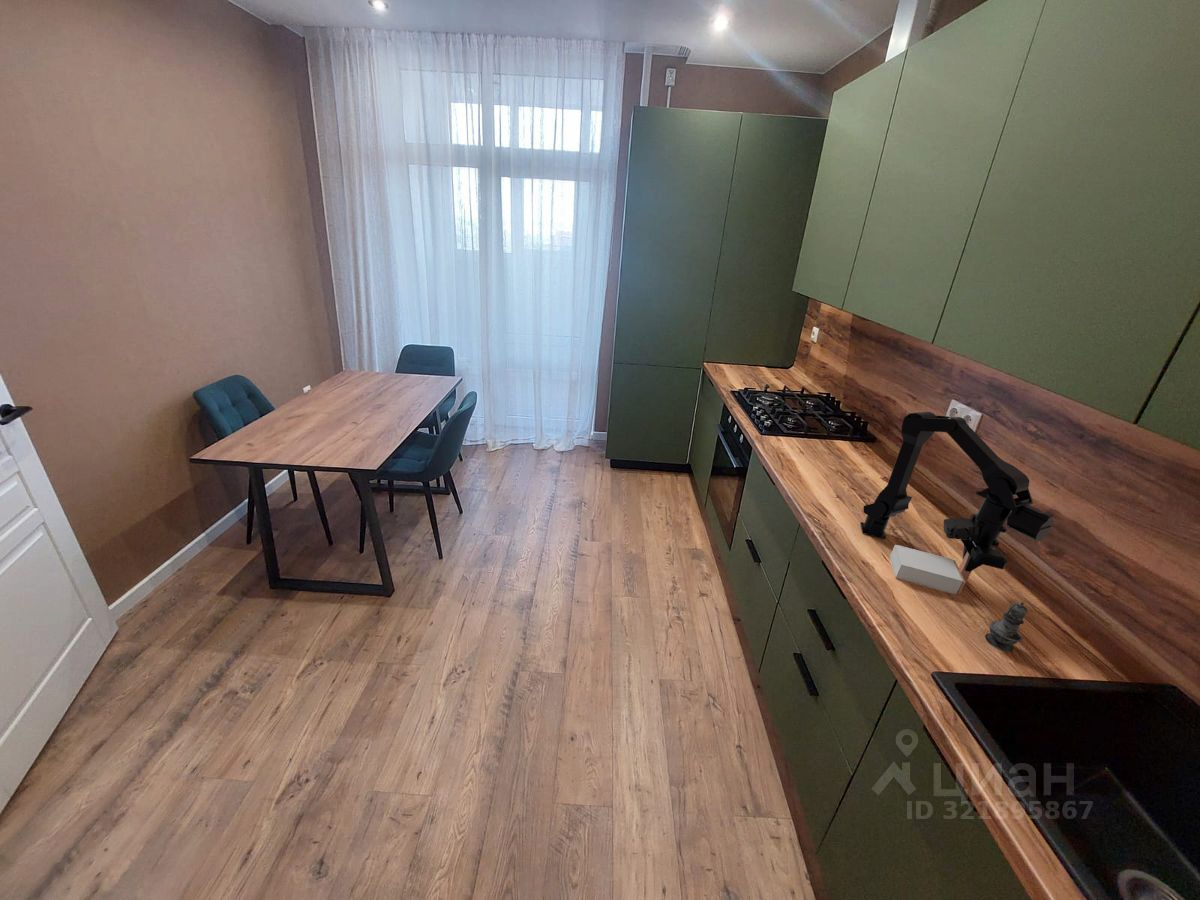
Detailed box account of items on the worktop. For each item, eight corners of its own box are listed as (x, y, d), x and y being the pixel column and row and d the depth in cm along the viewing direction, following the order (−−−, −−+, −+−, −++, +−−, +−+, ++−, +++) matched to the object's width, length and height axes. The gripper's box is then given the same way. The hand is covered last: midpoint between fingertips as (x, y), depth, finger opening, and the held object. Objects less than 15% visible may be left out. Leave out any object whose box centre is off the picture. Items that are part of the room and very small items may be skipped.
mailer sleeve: (889, 557, 136) (895, 544, 134) (945, 572, 132) (952, 559, 130) (895, 578, 127) (901, 564, 125) (955, 594, 123) (962, 581, 121)
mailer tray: (893, 557, 136) (905, 528, 132) (957, 574, 131) (971, 545, 127) (899, 577, 127) (912, 548, 123) (967, 596, 122) (983, 566, 118)
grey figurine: (984, 628, 113) (1006, 588, 108) (1015, 642, 109) (1039, 602, 104) (982, 642, 108) (1006, 602, 103) (1015, 657, 105) (1040, 616, 100)
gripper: (944, 493, 129) (923, 540, 135) (964, 527, 113) (939, 580, 119) (993, 504, 125) (968, 552, 132) (1020, 541, 109) (991, 594, 116)
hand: (965, 568), depth 125 cm, fingers closed on mailer tray, 2 cm apart
